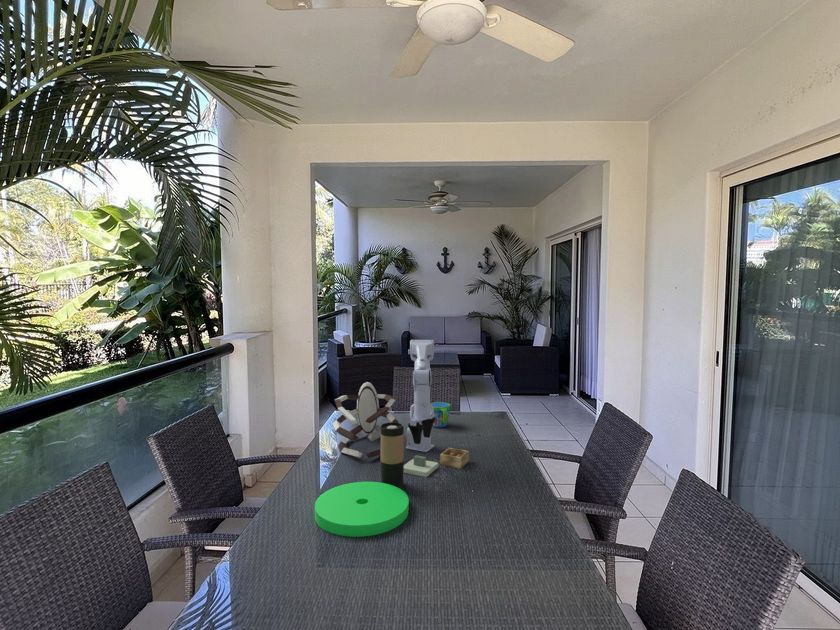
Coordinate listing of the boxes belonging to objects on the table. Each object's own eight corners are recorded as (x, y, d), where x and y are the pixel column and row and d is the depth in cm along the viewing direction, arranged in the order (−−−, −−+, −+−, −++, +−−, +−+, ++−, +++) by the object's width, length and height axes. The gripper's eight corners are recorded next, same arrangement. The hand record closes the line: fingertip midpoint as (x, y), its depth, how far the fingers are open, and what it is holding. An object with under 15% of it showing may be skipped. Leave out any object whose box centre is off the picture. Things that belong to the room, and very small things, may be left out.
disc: (316, 544, 115) (316, 531, 115) (312, 497, 141) (312, 487, 141) (419, 529, 122) (419, 517, 122) (397, 487, 148) (397, 477, 148)
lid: (400, 471, 160) (400, 459, 160) (413, 462, 169) (413, 450, 169) (426, 477, 156) (426, 464, 155) (438, 467, 165) (438, 454, 164)
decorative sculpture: (399, 430, 205) (399, 466, 170) (339, 432, 204) (327, 468, 169) (398, 378, 202) (398, 403, 167) (337, 379, 201) (325, 405, 166)
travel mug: (376, 487, 148) (375, 427, 146) (388, 478, 154) (388, 421, 153) (396, 492, 144) (396, 430, 143) (408, 483, 151) (408, 424, 150)
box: (440, 465, 167) (440, 454, 166) (448, 457, 174) (448, 447, 173) (460, 468, 163) (460, 458, 163) (468, 461, 170) (468, 451, 170)
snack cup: (424, 421, 221) (424, 401, 220) (445, 420, 223) (445, 400, 223) (432, 431, 206) (432, 409, 205) (454, 430, 208) (455, 408, 208)
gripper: (423, 409, 154) (422, 448, 154) (440, 399, 166) (440, 436, 167) (404, 406, 157) (404, 445, 158) (423, 397, 170) (423, 433, 170)
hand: (422, 440), depth 163 cm, fingers open, 7 cm apart
